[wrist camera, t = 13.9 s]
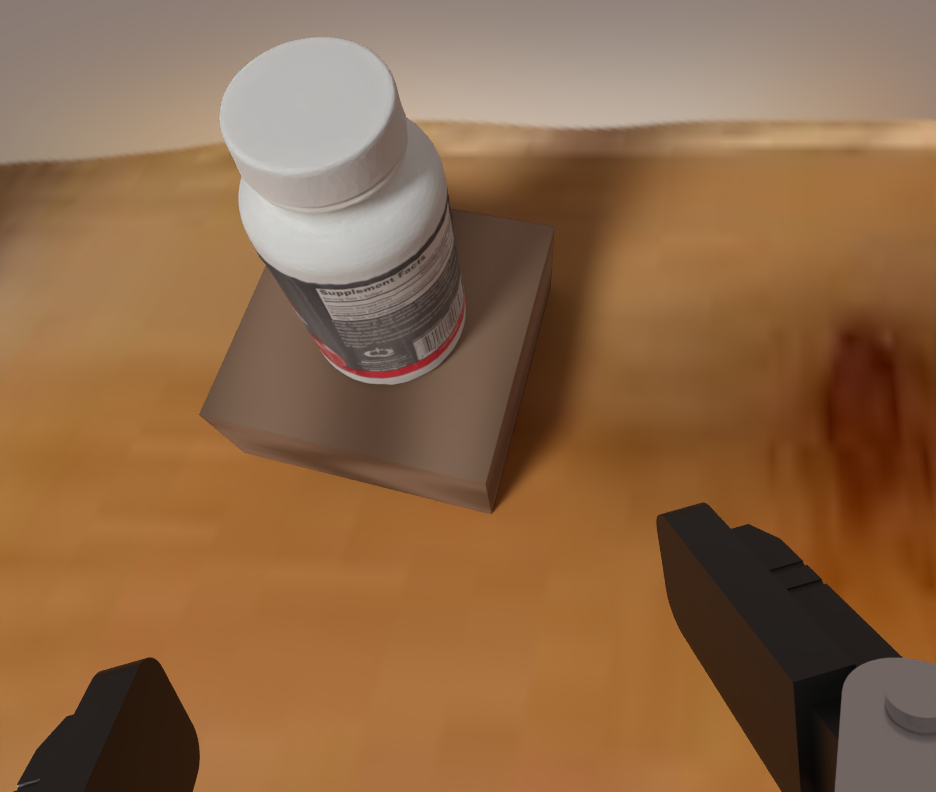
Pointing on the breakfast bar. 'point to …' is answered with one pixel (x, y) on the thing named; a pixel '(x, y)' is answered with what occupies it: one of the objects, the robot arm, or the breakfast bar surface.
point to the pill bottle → (347, 207)
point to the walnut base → (405, 404)
